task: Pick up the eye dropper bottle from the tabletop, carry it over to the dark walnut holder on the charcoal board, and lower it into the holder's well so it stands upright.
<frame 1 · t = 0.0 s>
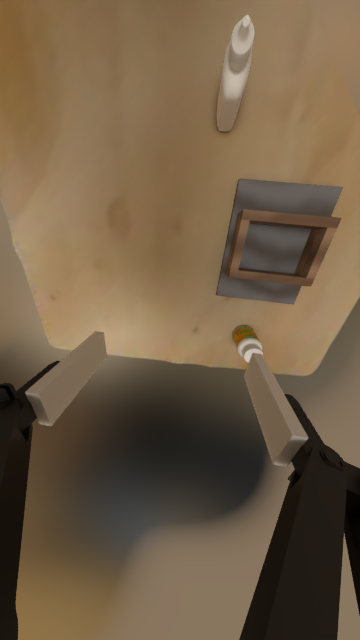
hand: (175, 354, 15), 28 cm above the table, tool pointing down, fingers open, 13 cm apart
bottle holder: (268, 249, 35), on the table
supplement bottle: (242, 333, 44), on the table
eye dropper bottle: (227, 110, 27), on the table
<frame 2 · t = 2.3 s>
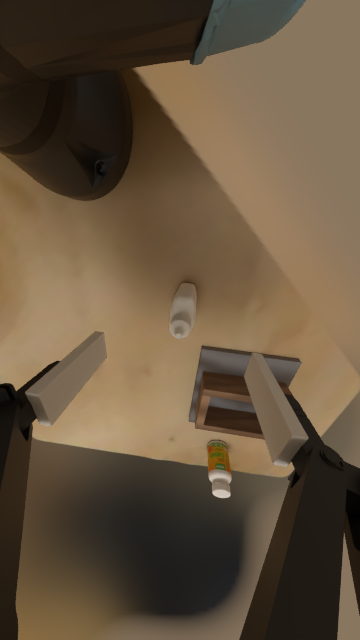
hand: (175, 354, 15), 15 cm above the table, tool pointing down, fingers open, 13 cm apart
bottle holder: (235, 392, 36), on the table
supplement bottle: (217, 444, 45), on the table
eye dropper bottle: (186, 298, 28), on the table
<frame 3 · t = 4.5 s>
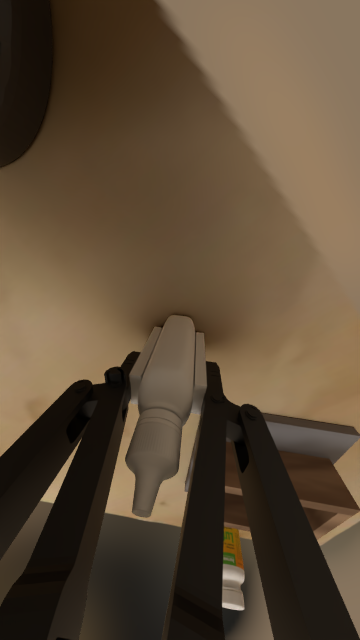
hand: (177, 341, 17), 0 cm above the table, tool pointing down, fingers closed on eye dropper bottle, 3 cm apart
bottle holder: (251, 461, 25), on the table
supplement bottle: (222, 512, 34), on the table
eye dropper bottle: (178, 337, 17), on the table, touching gripper
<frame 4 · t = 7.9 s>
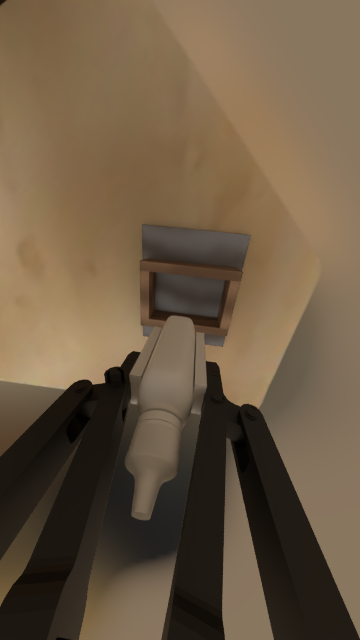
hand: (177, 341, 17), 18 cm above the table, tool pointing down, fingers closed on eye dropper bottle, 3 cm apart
bottle holder: (188, 292, 33), on the table
eye dropper bottle: (178, 338, 17), point 18 cm above the table, touching gripper
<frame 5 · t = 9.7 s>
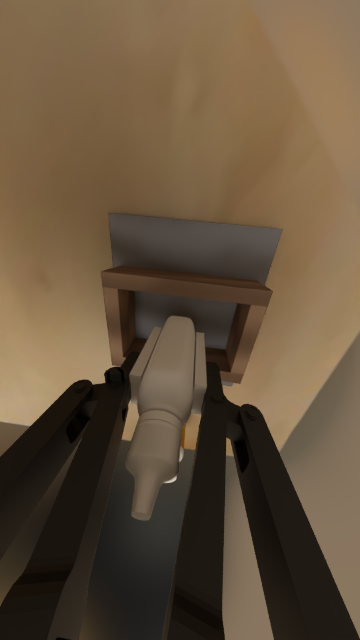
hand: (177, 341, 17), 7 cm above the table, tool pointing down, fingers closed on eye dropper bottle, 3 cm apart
bottle holder: (183, 313, 23), on the table
eye dropper bottle: (178, 338, 17), point 6 cm above the table, touching gripper
when the fingers open (3 cm above the table, at t = 11.3 s): eye dropper bottle drops 2 cm, resting on bottle holder.
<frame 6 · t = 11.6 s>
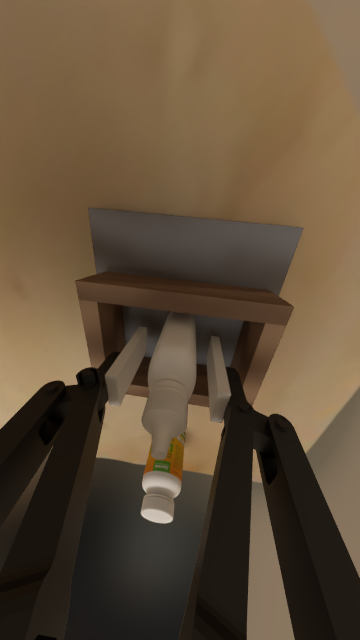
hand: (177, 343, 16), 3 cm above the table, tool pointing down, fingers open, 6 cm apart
bottle holder: (180, 327, 19), on the table
supplement bottle: (169, 431, 29), on the table
eye dropper bottle: (180, 329, 18), point 1 cm above the table, touching bottle holder
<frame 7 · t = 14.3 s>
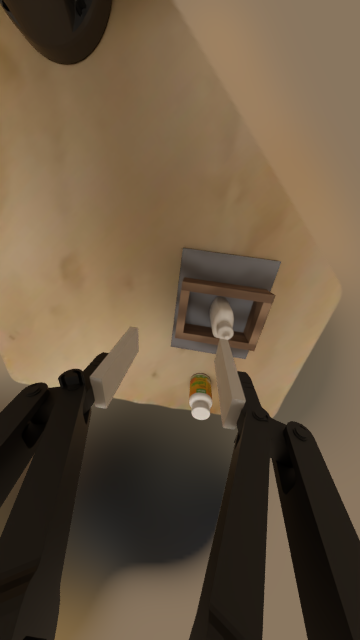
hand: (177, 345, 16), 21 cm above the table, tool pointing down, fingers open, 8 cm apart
bottle holder: (217, 308, 35), on the table
supplement bottle: (200, 380, 44), on the table
eye dropper bottle: (218, 309, 35), point 1 cm above the table, touching bottle holder
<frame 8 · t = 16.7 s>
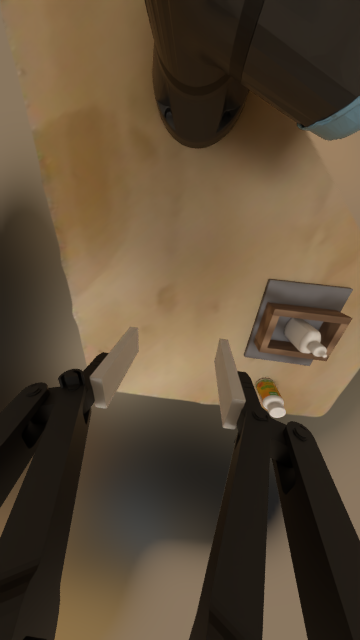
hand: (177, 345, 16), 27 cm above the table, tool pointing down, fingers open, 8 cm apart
bottle holder: (290, 325, 42), on the table
supplement bottle: (264, 383, 52), on the table
eye dropper bottle: (291, 326, 42), point 1 cm above the table, touching bottle holder
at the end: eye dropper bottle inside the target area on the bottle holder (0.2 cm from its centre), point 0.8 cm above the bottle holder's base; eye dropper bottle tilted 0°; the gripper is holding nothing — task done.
